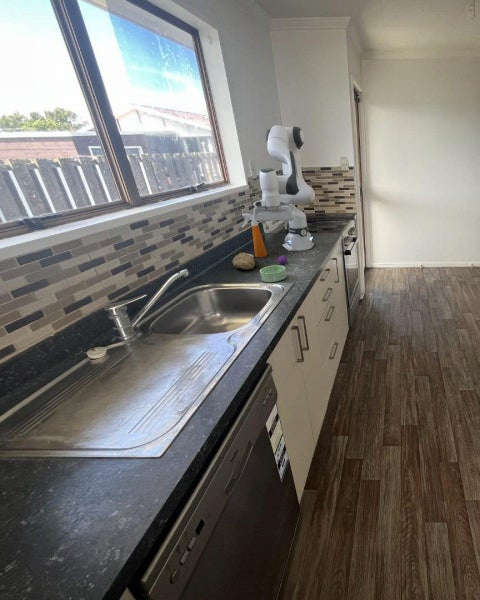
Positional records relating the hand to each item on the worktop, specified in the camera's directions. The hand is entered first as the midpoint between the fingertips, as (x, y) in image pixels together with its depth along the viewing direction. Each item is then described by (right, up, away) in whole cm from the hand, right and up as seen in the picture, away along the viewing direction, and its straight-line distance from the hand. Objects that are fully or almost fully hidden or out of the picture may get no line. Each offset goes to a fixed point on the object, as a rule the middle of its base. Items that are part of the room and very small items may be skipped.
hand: (276, 229), depth 175 cm
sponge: (-21, -19, +10) cm, 30 cm away
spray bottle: (-21, -11, +27) cm, 36 cm away
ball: (-1, -15, +12) cm, 19 cm away
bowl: (+2, -27, -7) cm, 28 cm away
